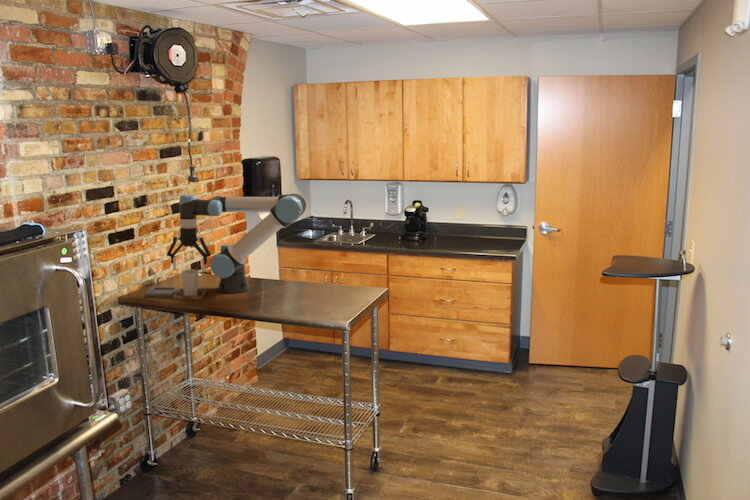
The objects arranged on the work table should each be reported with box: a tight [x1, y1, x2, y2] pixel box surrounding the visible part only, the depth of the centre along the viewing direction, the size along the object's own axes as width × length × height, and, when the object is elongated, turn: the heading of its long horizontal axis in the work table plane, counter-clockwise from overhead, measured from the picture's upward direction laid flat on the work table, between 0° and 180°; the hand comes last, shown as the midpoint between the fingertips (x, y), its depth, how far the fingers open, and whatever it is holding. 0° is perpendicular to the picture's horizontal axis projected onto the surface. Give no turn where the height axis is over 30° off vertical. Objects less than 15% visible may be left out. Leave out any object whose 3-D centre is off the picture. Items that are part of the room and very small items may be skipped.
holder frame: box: [172, 288, 208, 300], centre depth 298 cm, size 14×14×2 cm
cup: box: [181, 269, 199, 296], centre depth 297 cm, size 8×8×12 cm
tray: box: [146, 286, 179, 298], centre depth 299 cm, size 12×12×2 cm
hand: (189, 270), depth 296 cm, fingers open, 13 cm apart
